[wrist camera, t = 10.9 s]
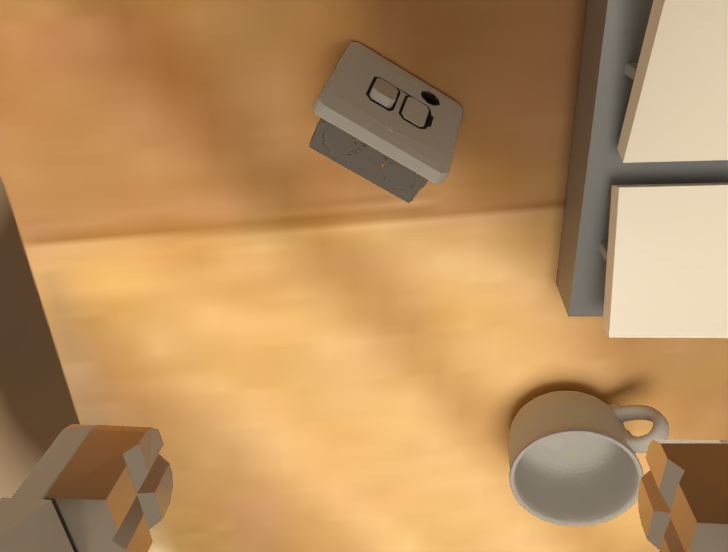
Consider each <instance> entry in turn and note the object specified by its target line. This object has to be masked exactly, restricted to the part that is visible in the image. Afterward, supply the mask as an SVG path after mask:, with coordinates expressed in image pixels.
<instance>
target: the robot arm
mask: <svg viewBox="0 0 728 552" xmlns="http://www.w3.org/2000/svg"><path fill="white" fill-rule="evenodd" d="M162 446H163V441H162V438H161V436H160V433H159V430H157V429H154V428H150V427H130V426H110V425H98V426H96V425H77V424H72V425H70V426H68V427H66V428H65V429H63V431H62V432H61V433H60V434H59V436H58V437H57V438H56V440H55V441H54V442H53V444H52V445H51V446H50V448H49V449H48V450H47V452H46V453H45V454H44V456H43V457H42V458H41V460H40V461H39V462H38V463H37V465H36V466H35V467H34V469H33V470H32V471H31V473H30V474H29V475H28V477H27V478H26V479H25V481H24V482H23V483H22V485H21V486H20V487H19V489H18V490H17V491H16V493H15V494H14V495H13V496H12V498H2V499H0V552H148V550H149V548H150V546H151V544H152V542H153V541H152V538H151V535H150V531H149V529H151V528H152V527H153V526H154V525H156V524H157V523H158V522H159V521H161V520H162V519H163V518H164V515H165V513H166V511H167V509H168V506H169V504H170V499H171V493H172V488H173V481H172V471H171V468H170V464H169V463H168V462H167V461H166V460H165V459H164V458H163V457H162V456H160V455H159V452H160V450H161V448H162ZM646 460H647V462H648V465H649V467H650V469H651V470H650V471H649V472H648V473H646V474H645V475H644V476H643V477H641V480H640V485H639V491H638V505H639V514H640V519H641V523H642V527H643V529H644V532H645V535H646V538H647V540H649V541H650V542H651V543H652V544H653V545H654V546H655V547H657V548H658V549H659V550H660V552H728V440H721V441H717V440H657V439H653V440H652V442H651V443H650V444H649V446H648V450H647V454H646Z"/></svg>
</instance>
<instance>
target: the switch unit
mask: <svg viewBox="0 0 728 552" xmlns="http://www.w3.org/2000/svg"><path fill="white" fill-rule="evenodd" d="M652 4H653V0H587V9H586V18H585V27H584V36H583V45H582V54H581V63H580V72H579V81H578V91H577V100H576V109H575V118H574V127H573V136H572V145H571V154H570V163H569V172H568V181H567V191H566V200H565V209H564V218H563V227H562V236H561V245H560V254H559V263H558V272H557V281H556V284H557V287H558V290H559V292H560V295H561V298H562V300H563V303H564V306H565V308H566V311H567V314H568V316H603V311H604V296H605V280H606V265H607V250H608V234H609V219H610V204H611V188H612V185H639V184H684V183H728V160H711V161H673V162H635V163H623V162H622V159H621V157H620V154H619V152H618V150H617V147H618V143H619V139H620V135H621V131H622V127H623V123H624V118H625V114H626V110H627V106H628V102H629V98H630V94H631V90H632V86H633V82H634V78H635V74H636V70H637V65H638V61H639V57H640V53H641V49H642V45H643V41H644V37H645V33H646V29H647V25H648V21H649V16H650V12H651V8H652Z"/></svg>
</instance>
